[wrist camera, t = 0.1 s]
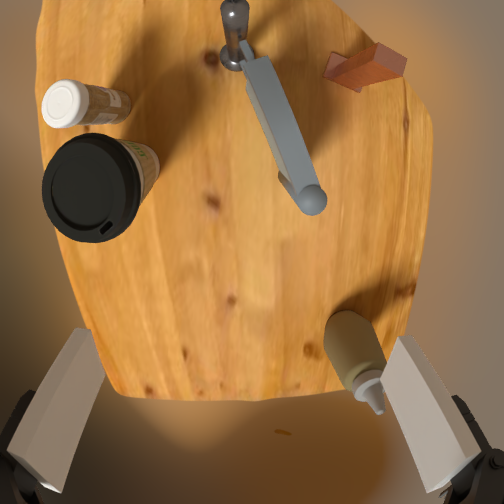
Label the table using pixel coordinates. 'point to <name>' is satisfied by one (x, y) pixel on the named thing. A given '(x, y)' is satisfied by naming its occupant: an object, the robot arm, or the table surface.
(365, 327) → the squeeze bottle
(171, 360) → the table surface
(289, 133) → the gate
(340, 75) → the gate posts
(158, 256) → the table surface
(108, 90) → the sprinkles bottle
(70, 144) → the coffee cup
